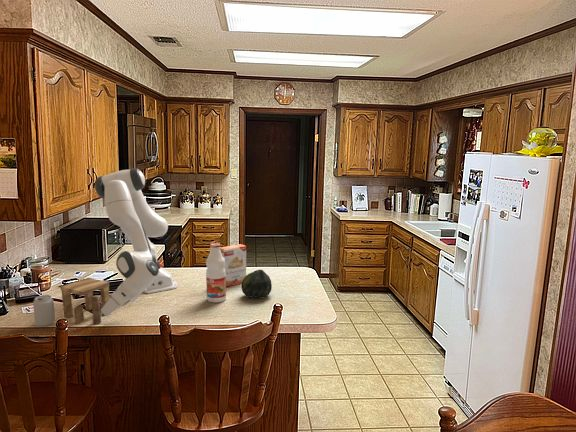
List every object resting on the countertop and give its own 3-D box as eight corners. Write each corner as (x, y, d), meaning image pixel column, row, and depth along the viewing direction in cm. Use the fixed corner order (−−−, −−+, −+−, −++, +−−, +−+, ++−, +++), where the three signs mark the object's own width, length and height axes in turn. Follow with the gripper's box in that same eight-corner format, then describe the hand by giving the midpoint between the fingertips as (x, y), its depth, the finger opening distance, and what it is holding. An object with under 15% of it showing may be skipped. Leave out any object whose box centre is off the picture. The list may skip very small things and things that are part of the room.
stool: (111, 312, 199) (109, 282, 196) (81, 325, 185) (78, 293, 183) (90, 307, 205) (88, 277, 203) (59, 319, 192) (57, 287, 189)
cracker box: (225, 287, 233) (224, 249, 229) (219, 284, 237) (218, 247, 234) (247, 282, 242) (246, 245, 238) (240, 279, 246) (240, 243, 242)
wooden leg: (97, 314, 196) (95, 289, 194) (104, 314, 197) (103, 289, 195) (92, 324, 186) (90, 298, 184) (100, 323, 187) (98, 297, 185)
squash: (237, 281, 226) (243, 265, 215) (265, 279, 232) (271, 263, 221) (242, 306, 218) (248, 291, 207) (270, 303, 224) (278, 288, 213)
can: (32, 324, 187) (29, 297, 184) (50, 318, 192) (48, 292, 190) (40, 329, 182) (37, 301, 180) (58, 323, 188) (56, 296, 186)
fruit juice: (229, 297, 218) (228, 243, 213) (219, 304, 210) (218, 247, 205) (213, 295, 222) (212, 241, 217) (203, 301, 214) (201, 245, 209)
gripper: (135, 278, 193) (115, 298, 196) (110, 294, 173) (89, 316, 176) (145, 288, 194) (125, 308, 197) (122, 305, 174) (100, 327, 177)
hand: (108, 312), depth 186 cm, fingers closed
